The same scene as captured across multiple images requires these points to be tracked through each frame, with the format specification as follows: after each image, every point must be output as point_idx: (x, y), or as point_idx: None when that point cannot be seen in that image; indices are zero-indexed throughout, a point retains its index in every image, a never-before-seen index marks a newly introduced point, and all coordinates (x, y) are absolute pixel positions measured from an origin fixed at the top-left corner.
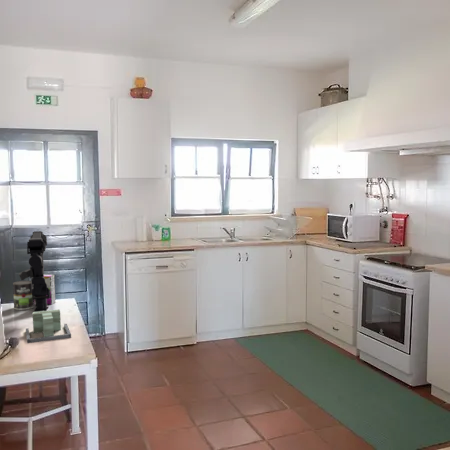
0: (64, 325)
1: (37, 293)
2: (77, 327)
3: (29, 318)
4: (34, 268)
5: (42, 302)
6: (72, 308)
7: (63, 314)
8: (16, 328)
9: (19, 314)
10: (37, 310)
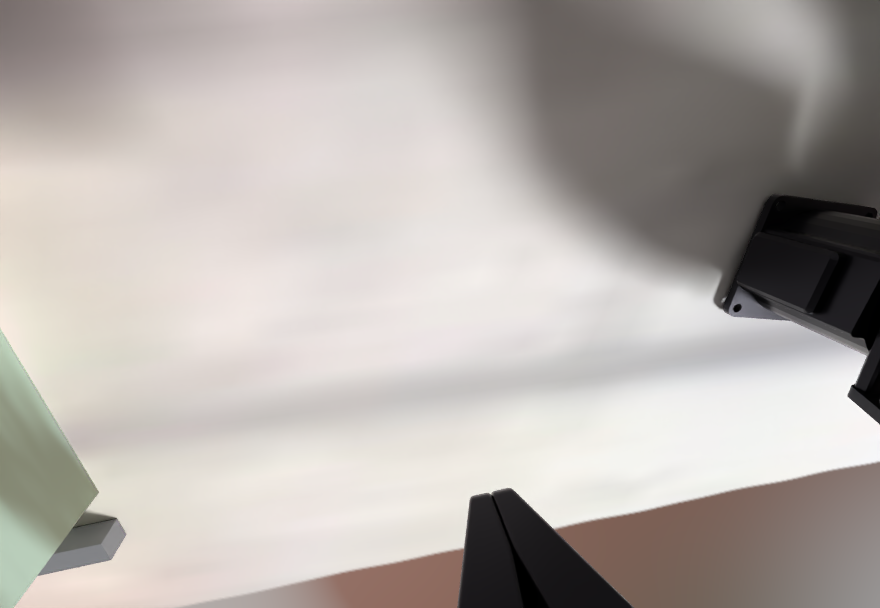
0: (71, 545)
1: (466, 534)
2: (97, 601)
3: (508, 173)
4: None
5: (814, 313)
6: (675, 491)
7: (528, 458)
8: (82, 48)
9: (731, 30)
10: (756, 230)
